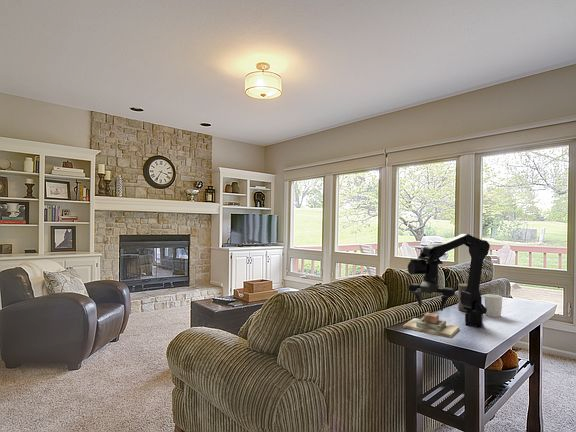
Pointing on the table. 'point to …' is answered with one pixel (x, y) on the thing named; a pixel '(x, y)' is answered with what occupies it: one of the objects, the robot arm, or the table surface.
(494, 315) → the white cup
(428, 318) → the terracotta cube
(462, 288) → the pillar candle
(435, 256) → the robot arm
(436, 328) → the socket board
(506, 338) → the table surface
